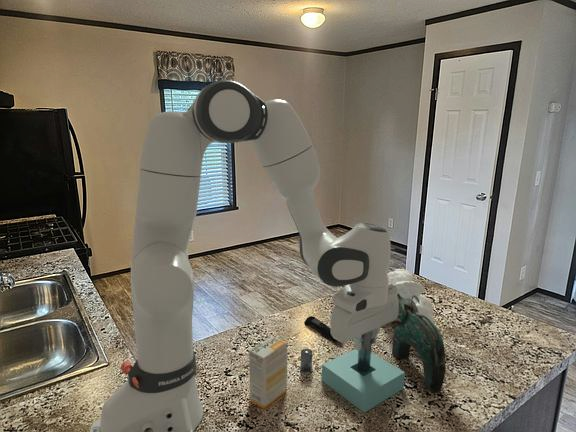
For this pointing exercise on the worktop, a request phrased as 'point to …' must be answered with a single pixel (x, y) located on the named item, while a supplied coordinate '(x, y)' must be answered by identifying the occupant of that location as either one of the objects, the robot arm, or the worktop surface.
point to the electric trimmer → (319, 327)
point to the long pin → (365, 353)
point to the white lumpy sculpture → (411, 291)
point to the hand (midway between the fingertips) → (364, 346)
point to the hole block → (362, 380)
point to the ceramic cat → (420, 342)
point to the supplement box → (268, 371)
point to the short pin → (306, 360)
